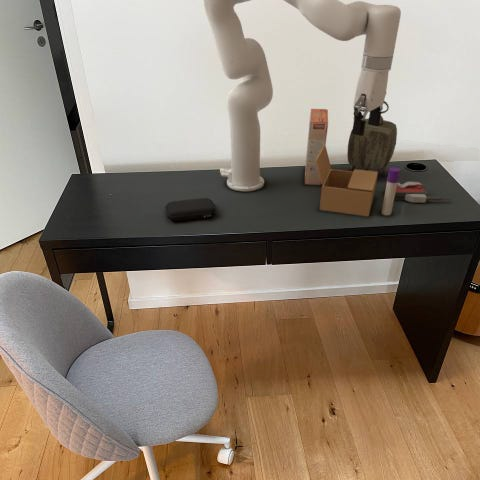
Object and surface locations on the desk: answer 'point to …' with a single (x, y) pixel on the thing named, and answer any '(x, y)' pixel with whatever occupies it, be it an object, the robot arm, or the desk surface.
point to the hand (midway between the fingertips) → (365, 129)
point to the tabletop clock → (373, 146)
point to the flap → (323, 164)
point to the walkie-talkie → (414, 193)
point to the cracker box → (315, 144)
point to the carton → (348, 191)
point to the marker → (390, 190)
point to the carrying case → (190, 209)
